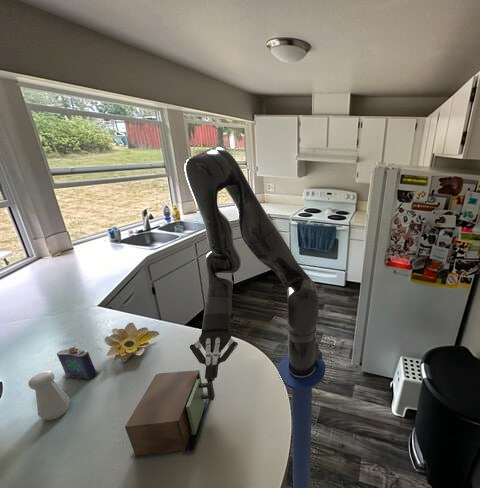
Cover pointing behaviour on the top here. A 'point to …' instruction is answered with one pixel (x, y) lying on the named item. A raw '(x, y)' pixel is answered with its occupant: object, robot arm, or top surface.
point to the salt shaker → (49, 396)
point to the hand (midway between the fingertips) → (210, 380)
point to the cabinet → (164, 415)
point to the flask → (76, 363)
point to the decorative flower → (128, 341)
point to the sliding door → (198, 403)
